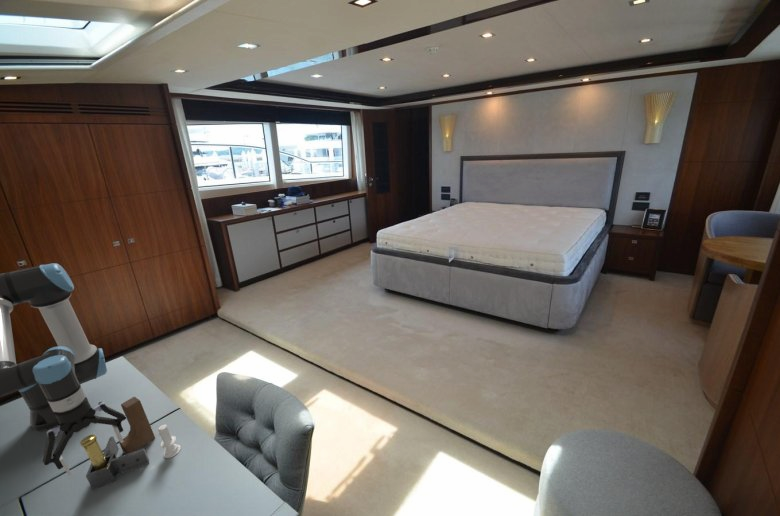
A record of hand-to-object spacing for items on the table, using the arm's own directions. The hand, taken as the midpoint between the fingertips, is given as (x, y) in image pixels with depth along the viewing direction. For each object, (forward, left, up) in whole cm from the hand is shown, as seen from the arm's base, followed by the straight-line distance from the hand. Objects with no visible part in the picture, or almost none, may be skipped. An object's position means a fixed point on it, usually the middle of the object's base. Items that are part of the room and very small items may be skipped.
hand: (96, 456), depth 108 cm
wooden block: (-5, +11, -10) cm, 16 cm away
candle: (+8, +17, -10) cm, 21 cm away
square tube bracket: (-2, +6, -10) cm, 12 cm away
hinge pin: (0, 0, -10) cm, 10 cm away
